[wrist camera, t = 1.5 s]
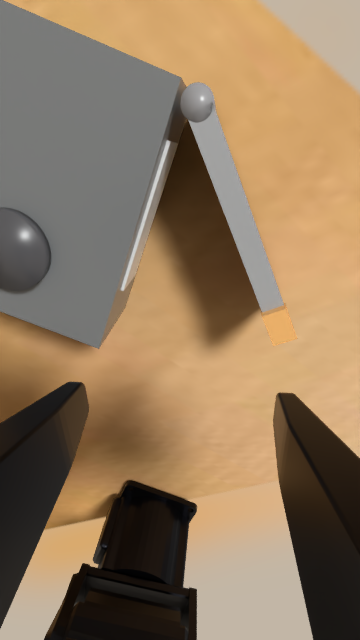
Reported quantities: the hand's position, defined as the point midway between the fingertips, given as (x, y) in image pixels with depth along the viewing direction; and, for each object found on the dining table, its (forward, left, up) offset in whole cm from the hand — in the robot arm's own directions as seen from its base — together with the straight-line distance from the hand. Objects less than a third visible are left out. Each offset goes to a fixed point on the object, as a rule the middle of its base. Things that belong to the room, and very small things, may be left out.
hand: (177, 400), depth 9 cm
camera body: (+8, -1, -12) cm, 14 cm away
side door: (-1, -4, -11) cm, 12 cm away
